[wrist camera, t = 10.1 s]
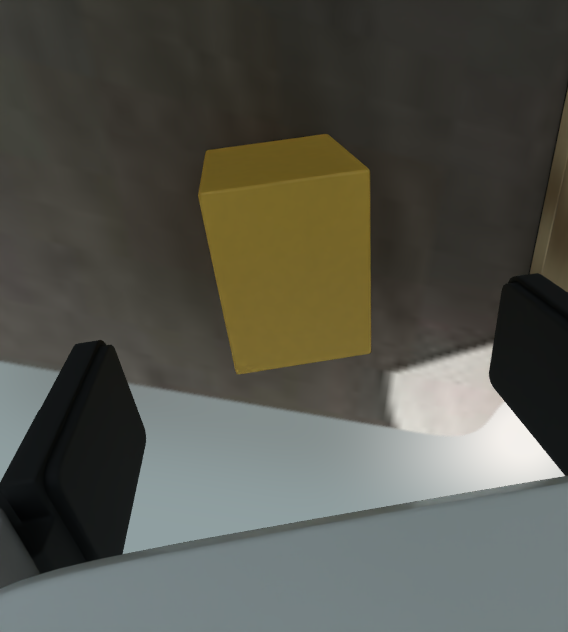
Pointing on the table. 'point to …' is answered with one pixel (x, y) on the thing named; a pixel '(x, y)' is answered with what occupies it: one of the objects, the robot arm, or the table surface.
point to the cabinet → (555, 216)
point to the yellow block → (290, 250)
